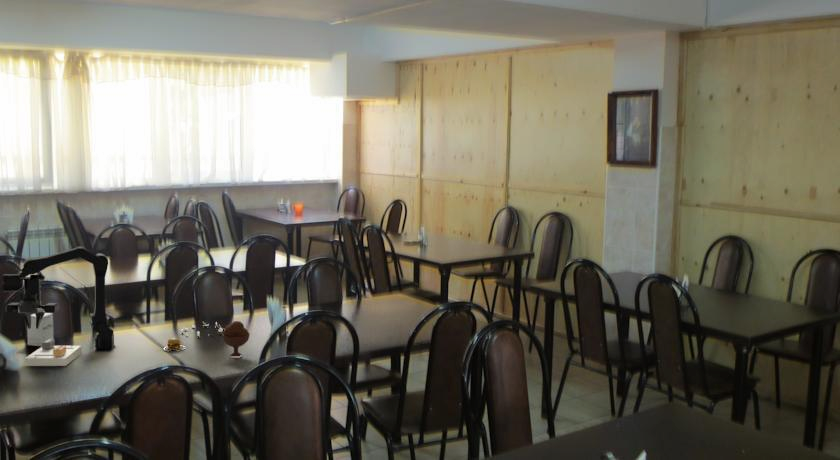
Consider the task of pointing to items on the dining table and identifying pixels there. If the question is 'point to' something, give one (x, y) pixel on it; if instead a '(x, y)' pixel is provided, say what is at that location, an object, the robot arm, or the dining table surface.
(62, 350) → the fader orange
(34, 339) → the supplement box
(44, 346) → the block
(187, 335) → the game piece set
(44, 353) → the fader panel
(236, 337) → the ice cream bowl
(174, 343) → the cake on plate
